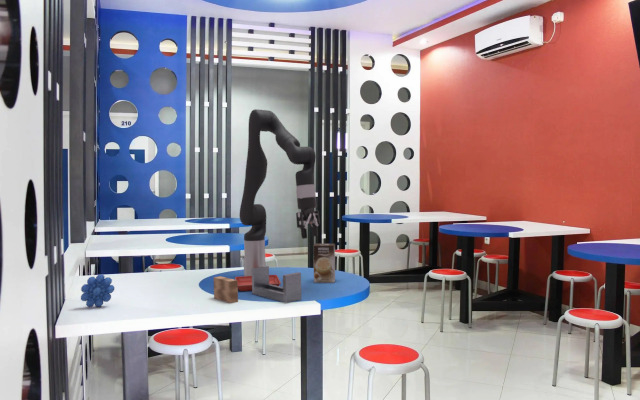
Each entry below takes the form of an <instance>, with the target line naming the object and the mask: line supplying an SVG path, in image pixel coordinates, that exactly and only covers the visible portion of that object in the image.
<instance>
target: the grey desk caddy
mask: <svg viewBox="0 0 640 400" xmlns="http://www.w3.org/2000/svg"><path fill="white" fill-rule="evenodd" d="M269 275H270V266H267V265H265V266H264V267H258V268H252V293H251V294H252V295H255V296H259V297H263V298H265V299H269V300H270V299H271V300H274V301H278V302H281V303H285V304H287V303H292V302H296V301H297V302H298V301H300V300H301V301H302V273H301V272H292V273H287V274H286V273H285V274H282V286H281V285H279V286H276V285H271V284H269Z"/></svg>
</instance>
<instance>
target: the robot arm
mask: <svg viewBox="0 0 640 400" xmlns="http://www.w3.org/2000/svg"><path fill="white" fill-rule="evenodd" d="M261 132H269V133H271V134H273V135H275V138H274V139H275V141H276V144H277V146H279V147H280V148H281V149H282V151H284V152H285V154H286V156H287V158H288V160H289V162H291V163H292V164H294V165H303V167H302V169H300V170H298V171H296V172H295V183H296V184H295V186H296V190H295V191H296V192H295V193H296V202H297V203H296V204H297V209H298V210H300V211H299V212H295V215H296V228H298V229H300V232H301V233H300V235H301V239H303V240H304V239H308V231H307V230H308V228H307V227H308V224H310V226H311V231H312V237H318V236H319V231H318V227H319V225H321V219H320V211H319V210H318V209H316V210H315V208H317V196H316V188H315V183H314V171H315V170H314V169H315V165H316V164H315V163H316V152H315V150H314V148H313V147H311V146H301V142H300V141H299V140H298V138H296V137H295V136H294V135H293V134H292V133H291V132H289V130H287V129H286V127H285V125H283V123H282V121H281V120H279V117H278V116H277V115H276V113H274V112H273V111H271V110H268V109H256V108H254V109H253V110H251V112H250V114H249V117H248V135H247V136H248V139H247V140H248V143H247V155H246V162H245V163H246V164H245V173H244V185H243V192H242V198H241V202H240V206H239V207H240V208H239V220H240V222H241V224H242V225H243V226H251V228H250V229H249V230H248V231H247V232H245V233H244V234H243V246H244V248H243V249H244V256H243V276H252V268H258V267H264V266H266V243H265V242H266V241H265V239H266V238H265V237H266V233H267V211H266V208H265V206H264V205H263V204H261V203H257V204H255V200H256V197H257V194H258V192H259V190H260V188H261V187H262V185H264V184H263V183H264V182H265V180H266V178H267V172H268V171H267V169H268V158H267V157H266V154H265V152H264V150H263V147H262V145H261V144H262V143H261Z"/></svg>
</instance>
